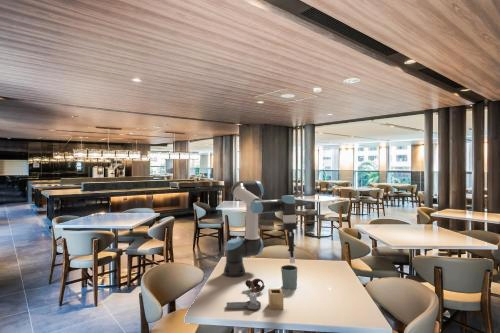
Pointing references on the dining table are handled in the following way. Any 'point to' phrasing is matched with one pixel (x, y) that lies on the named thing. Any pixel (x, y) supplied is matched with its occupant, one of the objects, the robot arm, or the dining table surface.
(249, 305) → the grey handled bowl
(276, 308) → the hollow square tube
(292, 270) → the grey green cup
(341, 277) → the dining table surface
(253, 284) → the ring-shaped clay flask
